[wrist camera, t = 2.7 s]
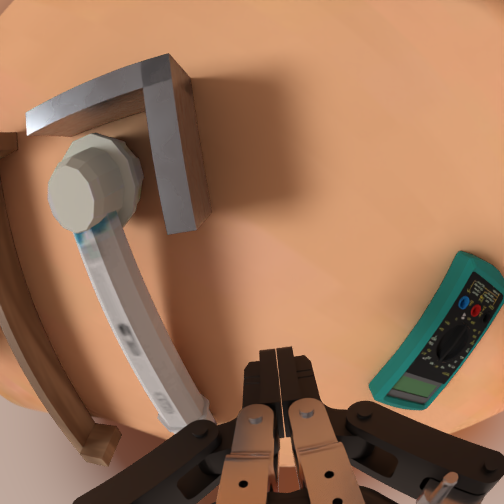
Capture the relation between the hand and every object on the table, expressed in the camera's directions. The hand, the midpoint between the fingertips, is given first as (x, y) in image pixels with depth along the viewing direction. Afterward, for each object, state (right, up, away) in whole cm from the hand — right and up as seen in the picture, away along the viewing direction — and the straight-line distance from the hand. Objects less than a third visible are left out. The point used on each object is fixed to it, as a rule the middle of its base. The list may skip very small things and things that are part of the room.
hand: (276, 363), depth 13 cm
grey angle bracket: (-9, +12, +5) cm, 15 cm away
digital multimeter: (+15, -2, +9) cm, 18 cm away
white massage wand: (-9, +1, +8) cm, 12 cm away
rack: (-20, 0, +9) cm, 22 cm away
